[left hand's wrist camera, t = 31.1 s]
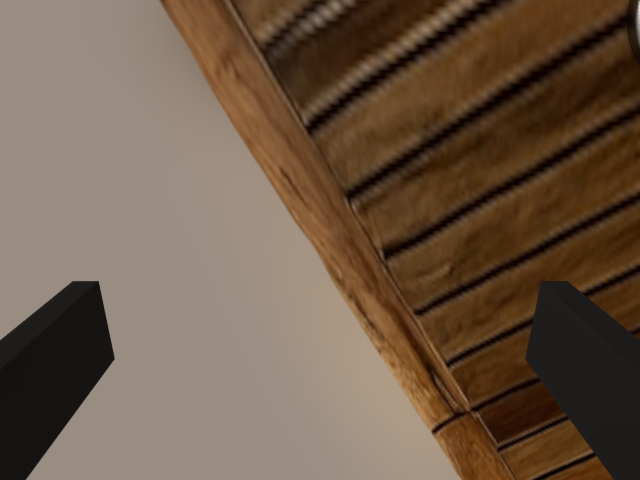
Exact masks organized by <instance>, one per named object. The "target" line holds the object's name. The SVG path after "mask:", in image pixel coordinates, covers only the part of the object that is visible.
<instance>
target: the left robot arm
mask: <svg viewBox="0 0 640 480" xmlns="http://www.w3.org/2000/svg"><path fill="white" fill-rule="evenodd" d="M627 27H628V37H629V41H630V45H631V48H632V51H633V53H634V55H635V57H636V59H637V61H638V62H639V64H640V0H630V2H629V8H628V18H627ZM114 359H115V358H114V353H113V349H112V343H111V339H110V334H109V329H108V324H107V319H106V315H105V310H104V305H103V300H102V295H101V290H100V286H99V282H98V281H73V282H71V283H70V284H69V285H68V286H66V287H65V288H64V289H63V290H61V291H60V292H59V293H58V294H57V295H55V296H54V297H53V298H52V299H50V300H49V301H48V302H47V303H46V304H44V305H43V306H42V307H41V308H39V309H38V310H37V311H36V312H34V313H33V314H32V315H31V316H30V317H28V318H27V319H26V320H25V321H23V322H22V323H21V324H20V325H18V326H17V327H16V328H15V329H14V330H12V331H11V332H10V333H9V334H7V335H6V336H5V337H4V338H3V339H1V340H0V480H26V479H27V477H28V476H29V475H30V473H31V472H32V471H33V469H34V468H35V466H36V465H37V464H38V462H39V461H40V460H41V458H42V457H43V456H44V454H45V453H46V452H47V450H48V449H49V447H50V446H51V445H52V443H53V442H54V441H55V439H56V438H57V437H58V435H59V434H60V433H61V431H62V430H63V428H64V427H65V426H66V424H67V423H68V422H69V420H70V419H71V418H72V416H73V415H74V414H75V412H76V411H77V409H78V408H79V407H80V405H81V404H82V403H83V401H84V400H85V399H86V397H87V396H88V394H89V393H90V392H91V390H92V389H93V388H94V386H95V385H96V384H97V382H98V381H99V380H100V378H101V377H102V375H103V374H104V373H105V371H106V370H107V369H108V367H109V366H110V365H111V363H112V362H113V361H114ZM525 359H526V361H527V362H528V363H529V365H530V366H531V367H532V369H533V370H534V371H535V373H536V374H537V375H538V377H539V378H540V380H541V381H542V382H543V384H544V385H545V386H546V388H547V389H548V390H549V392H550V393H551V395H552V396H553V397H554V399H555V400H556V401H557V403H558V404H559V405H560V407H561V408H562V409H563V411H564V412H565V414H566V415H567V416H568V418H569V419H570V420H571V422H572V423H573V424H574V426H575V427H576V428H577V430H578V431H579V433H580V434H581V435H582V437H583V438H584V439H585V441H586V442H587V443H588V445H589V446H590V447H591V449H592V450H593V452H594V453H595V454H596V456H597V457H598V458H599V460H600V461H601V462H602V464H603V465H604V466H605V468H606V469H607V471H608V472H609V473H610V475H611V476H612V477H613V479H614V480H640V340H639V339H638V338H636V337H635V336H634V335H633V334H631V333H630V332H629V331H628V330H626V329H625V328H624V327H623V326H622V325H620V324H619V323H618V322H617V321H615V320H614V319H613V318H612V317H610V316H609V315H608V314H607V313H606V312H604V311H603V310H602V309H601V308H599V307H598V306H597V305H596V304H595V303H593V302H592V301H591V300H590V299H588V298H587V297H586V296H585V295H583V294H582V293H581V292H580V291H579V290H577V289H576V288H575V287H574V286H572V285H571V284H570V283H569V282H567V281H541V286H540V290H539V295H538V300H537V305H536V310H535V314H534V319H533V324H532V329H531V334H530V339H529V343H528V348H527V353H526V358H525Z"/></svg>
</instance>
